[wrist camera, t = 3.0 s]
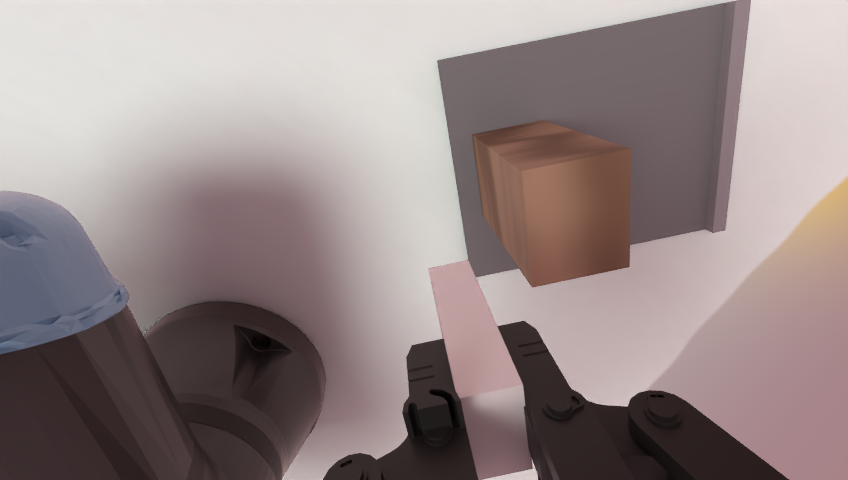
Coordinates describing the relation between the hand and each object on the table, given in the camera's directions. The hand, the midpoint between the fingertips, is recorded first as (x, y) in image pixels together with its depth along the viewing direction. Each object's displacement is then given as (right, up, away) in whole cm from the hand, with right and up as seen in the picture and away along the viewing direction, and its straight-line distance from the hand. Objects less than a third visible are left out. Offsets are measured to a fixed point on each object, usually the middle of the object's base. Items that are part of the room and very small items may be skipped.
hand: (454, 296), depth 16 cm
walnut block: (+5, +7, +14) cm, 17 cm away
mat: (+11, +9, +15) cm, 20 cm away
